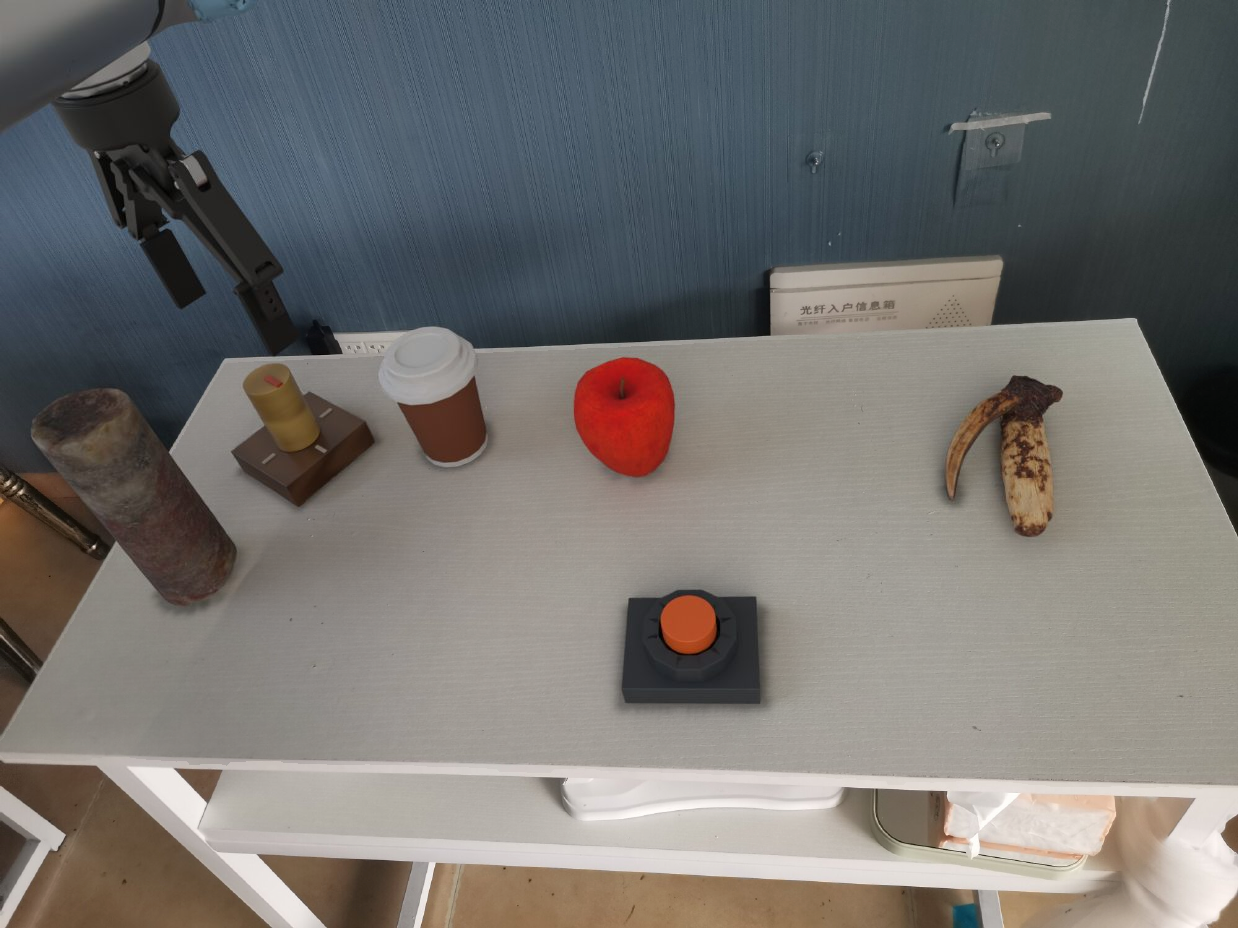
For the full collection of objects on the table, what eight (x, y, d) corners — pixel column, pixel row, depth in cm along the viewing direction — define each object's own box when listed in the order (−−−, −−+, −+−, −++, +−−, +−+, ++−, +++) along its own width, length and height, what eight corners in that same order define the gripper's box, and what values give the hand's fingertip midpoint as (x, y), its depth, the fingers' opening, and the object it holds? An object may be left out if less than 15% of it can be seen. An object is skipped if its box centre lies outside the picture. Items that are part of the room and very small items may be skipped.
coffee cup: (392, 457, 87) (350, 365, 79) (453, 400, 92) (419, 308, 83) (459, 490, 83) (423, 397, 75) (520, 429, 88) (492, 334, 79)
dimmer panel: (298, 507, 84) (285, 485, 82) (243, 471, 89) (229, 450, 86) (375, 442, 89) (365, 419, 87) (319, 411, 94) (308, 389, 91)
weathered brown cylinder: (179, 543, 83) (54, 384, 69) (253, 537, 82) (143, 376, 68) (149, 611, 78) (7, 456, 64) (228, 606, 77) (102, 447, 63)
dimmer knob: (266, 441, 87) (231, 382, 81) (301, 414, 89) (269, 355, 83) (294, 458, 85) (260, 398, 79) (329, 429, 87) (298, 369, 81)
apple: (580, 498, 81) (559, 412, 73) (594, 430, 86) (577, 344, 79) (677, 500, 79) (666, 413, 71) (685, 430, 85) (676, 343, 77)
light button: (661, 654, 64) (659, 641, 63) (663, 608, 67) (661, 595, 66) (716, 654, 64) (715, 641, 63) (716, 607, 67) (715, 594, 65)
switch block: (625, 703, 66) (618, 676, 63) (631, 612, 72) (625, 584, 69) (760, 704, 65) (759, 676, 62) (756, 611, 70) (756, 582, 67)
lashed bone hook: (945, 396, 84) (942, 541, 72) (950, 357, 81) (948, 503, 69) (1052, 401, 82) (1068, 553, 70) (1062, 362, 78) (1080, 514, 66)
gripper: (252, 80, 56) (363, 341, 72) (62, 30, 69) (191, 262, 84) (151, 132, 53) (291, 395, 68) (-32, 69, 65) (122, 305, 80)
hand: (236, 322), depth 76 cm, fingers open, 13 cm apart
